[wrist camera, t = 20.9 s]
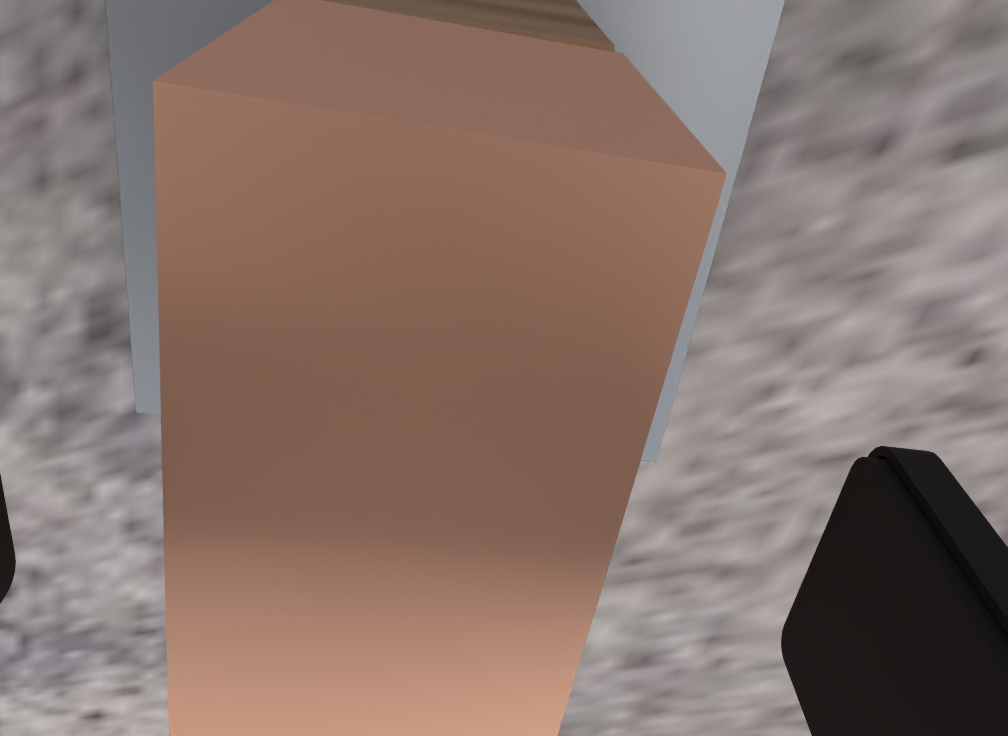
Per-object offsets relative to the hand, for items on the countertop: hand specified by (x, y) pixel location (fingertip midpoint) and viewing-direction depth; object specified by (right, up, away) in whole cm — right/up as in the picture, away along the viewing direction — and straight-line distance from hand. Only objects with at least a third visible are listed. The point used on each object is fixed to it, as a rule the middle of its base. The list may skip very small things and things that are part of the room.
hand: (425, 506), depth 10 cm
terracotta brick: (-1, +3, +5) cm, 6 cm away
